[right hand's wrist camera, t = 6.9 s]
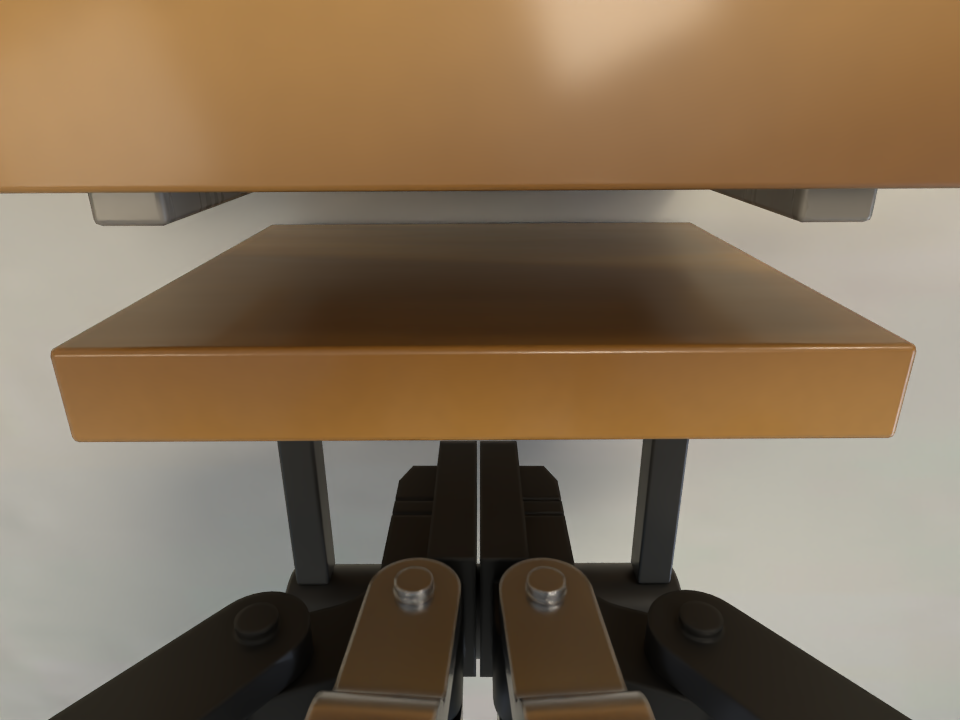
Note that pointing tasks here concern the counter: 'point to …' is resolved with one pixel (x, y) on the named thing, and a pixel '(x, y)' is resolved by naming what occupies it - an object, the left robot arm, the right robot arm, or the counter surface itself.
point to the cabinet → (477, 95)
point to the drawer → (483, 355)
